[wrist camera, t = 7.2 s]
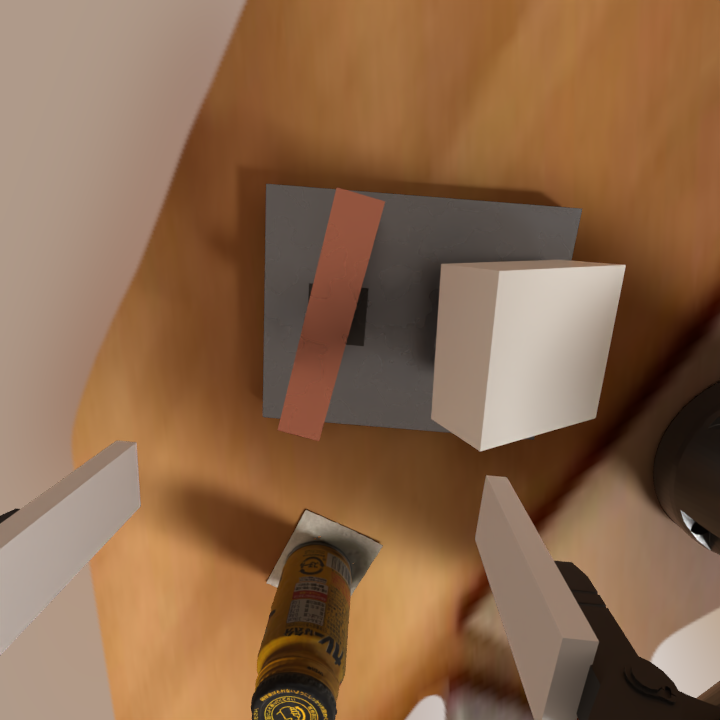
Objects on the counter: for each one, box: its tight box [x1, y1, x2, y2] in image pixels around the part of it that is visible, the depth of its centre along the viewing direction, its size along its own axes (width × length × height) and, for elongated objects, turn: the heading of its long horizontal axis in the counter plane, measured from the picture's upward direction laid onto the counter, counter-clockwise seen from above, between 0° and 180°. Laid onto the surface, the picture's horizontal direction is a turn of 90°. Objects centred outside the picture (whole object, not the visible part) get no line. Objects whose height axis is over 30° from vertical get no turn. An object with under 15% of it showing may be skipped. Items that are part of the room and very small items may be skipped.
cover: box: [431, 260, 626, 451], centre depth 23 cm, size 9×9×4 cm
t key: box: [278, 187, 385, 441], centre depth 24 cm, size 12×2×8 cm, turn 165°
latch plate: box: [263, 184, 582, 440], centre depth 27 cm, size 20×16×7 cm
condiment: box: [251, 510, 383, 720], centre depth 30 cm, size 7×8×12 cm
